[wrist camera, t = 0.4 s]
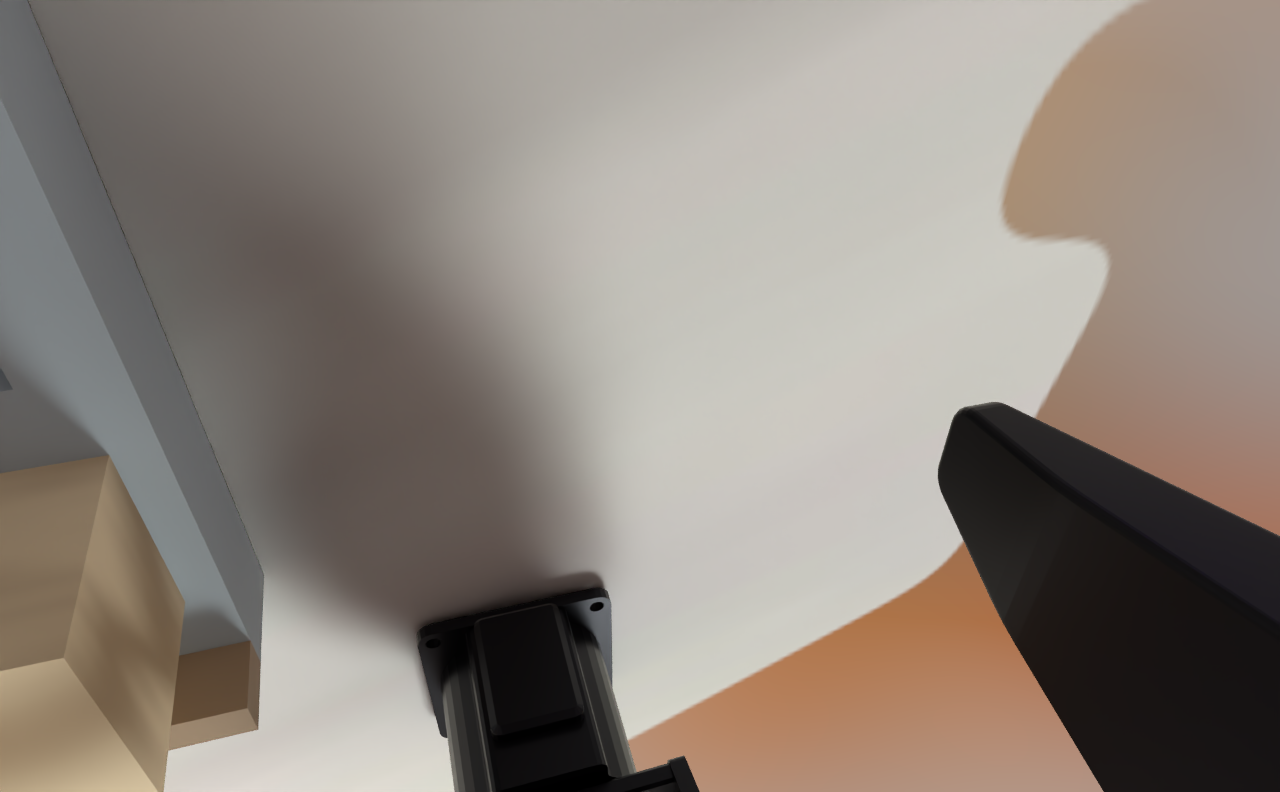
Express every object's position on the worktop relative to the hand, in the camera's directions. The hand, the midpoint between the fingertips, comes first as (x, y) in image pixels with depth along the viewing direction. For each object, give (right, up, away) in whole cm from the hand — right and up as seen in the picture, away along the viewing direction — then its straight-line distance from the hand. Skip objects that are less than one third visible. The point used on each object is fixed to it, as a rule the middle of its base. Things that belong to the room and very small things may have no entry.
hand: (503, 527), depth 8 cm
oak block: (-12, -2, +12) cm, 17 cm away
